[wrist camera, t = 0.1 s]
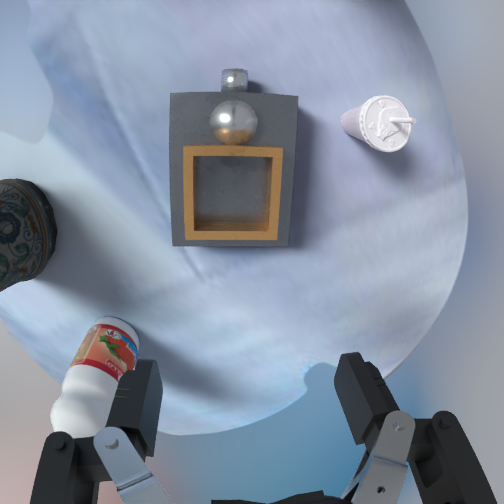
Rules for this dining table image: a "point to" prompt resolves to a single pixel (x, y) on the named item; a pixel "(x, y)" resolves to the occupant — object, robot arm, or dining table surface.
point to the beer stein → (24, 231)
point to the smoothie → (379, 123)
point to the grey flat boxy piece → (231, 165)
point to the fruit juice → (95, 378)
